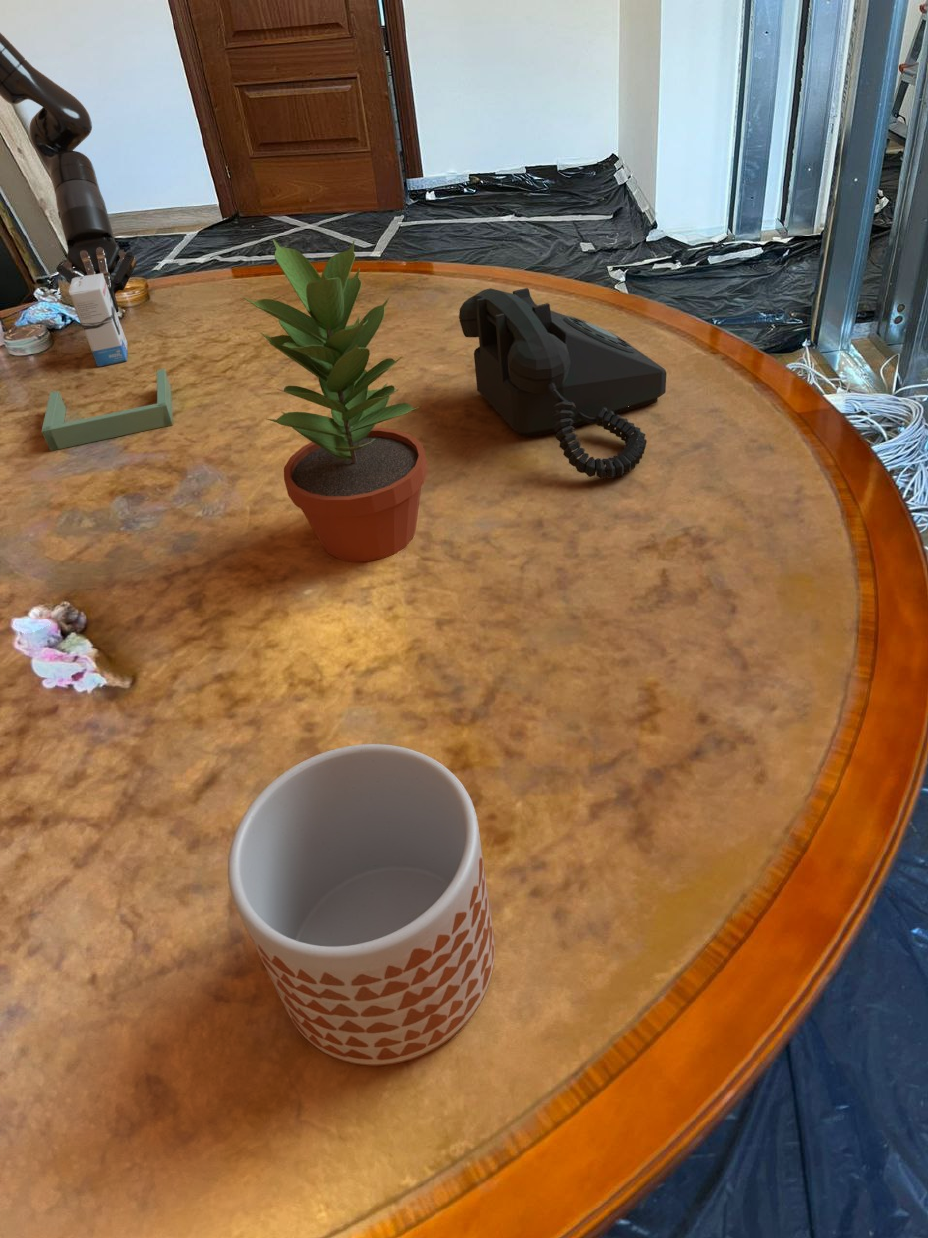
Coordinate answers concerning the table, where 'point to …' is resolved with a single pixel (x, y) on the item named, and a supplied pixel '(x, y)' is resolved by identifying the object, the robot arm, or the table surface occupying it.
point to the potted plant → (345, 418)
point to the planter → (367, 901)
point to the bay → (106, 420)
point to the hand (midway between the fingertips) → (110, 314)
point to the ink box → (98, 319)
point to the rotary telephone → (559, 375)
